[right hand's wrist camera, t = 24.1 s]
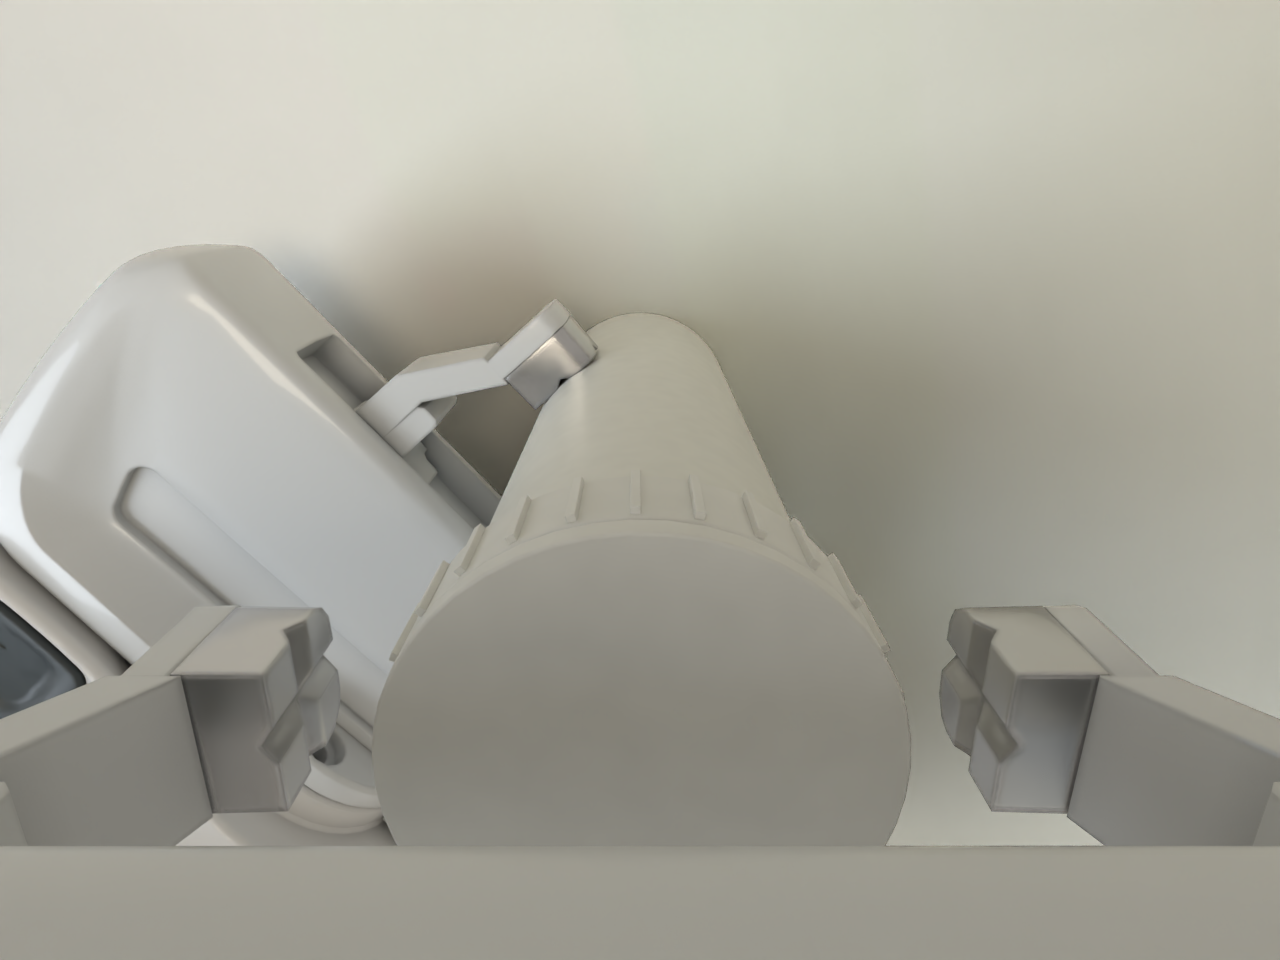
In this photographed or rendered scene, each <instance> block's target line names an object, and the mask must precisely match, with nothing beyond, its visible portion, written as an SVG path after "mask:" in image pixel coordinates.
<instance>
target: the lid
mask: <svg viewBox="0 0 1280 960" xmlns="http://www.w3.org/2000/svg"><path fill="white" fill-rule="evenodd" d="M890 651H891V650H890V648H889V645H888V643H887V642H886V640H885V638H884V636H883V634H882V632H881V631H880V629H879V627H878V625H877V623H876V621H875V620H874V618H873V616H872V614H871V612H870V610H869V609H868V607H867V605H866V603H865V601H864V600H863V598H862V596H861V594H859V595H857V593H856V591H855V589H854V587H853V586H852V584H851V582H850V580H849V578H848V576H847V575H846V573H845V571H844V569H843V567H842V565H841V563H840V562H839V560H838V558H837V557H836V556H835V554H834V553H831V554H830V555H829V556H826V555H825V554H824V552H823V551H822V550H821V549H820V548H819V547H818V546H817V545H816V544H815V543H814V542H813V541H812V540H811V539H810V538H809V537H808V536H807V534H806V532H805V530H804V528H803V526H802V524H801V522H800V521H799V520H797V519H796V518H795V517H793V518H792V520H791V521H790V522H789V521H787V520H786V519H785V518H783V517H781V516H780V515H778V514H776V513H775V512H773V511H771V510H770V509H768V508H766V507H764V506H763V505H761V504H759V503H757V502H756V500H755V497H754V494H753V493H751V492H748V491H746V490H745V491H744V493H743V495H742V496H741V495H738V494H736V493H734V492H731V491H729V490H725V489H722V488H718V487H715V486H711V485H708V484H704V483H700V480H699V476H697V475H692V474H690V475H689V479H688V480H683V479H676V478H669V477H653V476H641V470H631V476H626V477H616V478H606V479H597V480H593V481H588V482H584V481H583V477H582V476H581V477H577V478H573V482H572V485H571V486H566V487H564V488H561V489H558V490H555V491H553V492H550V493H547V494H544V495H542V496H539V497H536V498H534V499H532V500H531V499H530V497H529V496H528V495H526V496H524V497H521V498H520V499H519V502H518V504H517V507H516V508H515V509H513V510H511V511H509V512H507V513H506V514H504V515H503V516H502V517H500V518H499V519H497V520H496V521H494V522H493V523H492V524H490V525H489V526H487V527H486V528H485V527H484V526H483V525H482V524H479V525H478V526H477V527H475V528H474V530H473V532H472V534H471V536H470V538H469V540H468V542H467V544H466V546H465V547H464V548H463V549H461V550H460V552H459V553H458V554H457V555H456V557H455V558H454V559H453V560H452V562H451V563H450V564H449V563H447V562H446V561H444V560H443V561H442V563H441V564H440V565H439V567H438V569H437V571H436V573H435V574H434V576H433V578H432V580H431V582H430V584H429V586H428V588H427V589H426V591H425V593H424V595H423V597H422V599H421V601H420V603H418V604H417V606H416V608H415V609H414V611H413V613H412V615H411V617H410V619H409V621H408V623H407V624H406V626H405V628H404V630H403V632H402V634H401V636H400V637H399V639H398V641H397V643H396V645H395V647H394V649H393V650H392V652H391V655H390V657H389V661H391V662H394V664H393V666H392V668H391V670H390V673H389V675H388V678H387V680H386V683H385V685H384V688H383V690H382V693H381V696H380V698H379V701H378V705H377V712H376V717H375V721H374V726H373V741H372V763H373V772H374V781H375V788H376V792H377V795H378V799H379V803H380V806H381V810H382V814H383V816H384V819H385V821H386V823H387V825H388V828H389V830H390V832H391V834H392V837H393V839H394V841H395V843H396V844H397V846H885V845H886V843H887V842H888V840H889V838H890V836H891V834H892V832H893V830H894V828H895V826H896V824H897V821H898V818H899V815H900V812H901V809H902V806H903V803H904V800H905V797H906V791H907V785H908V780H909V774H910V768H911V735H910V729H909V722H908V715H907V709H906V706H905V703H904V700H905V698H904V692H903V690H902V689H901V687H900V685H899V683H898V681H897V679H896V677H895V675H894V673H893V671H892V669H891V667H890V665H889V663H888V661H887V659H886V657H885V655H884V654H885V653H887V652H890Z"/></svg>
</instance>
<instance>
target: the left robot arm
mask: <svg viewBox="0 0 1280 960" xmlns="http://www.w3.org/2000/svg"><path fill="white" fill-rule="evenodd" d="M597 349H598V346H597V345H596V343H595V342H594V341H593V340H592V339H591V338H590V336H589V335H588V334H587V333H586V332H585V331H584V329H583V328H582V327H581V326H580V325H579V324H578V322H577V321H576V320H575V319H574V318H573V317H572V315H570V313H569V311H568V310H567V309H566V308H565V307H564V306H563V305H562V304H561V303H560V302H559V301H558V300H557V299H556V298H555V299H554V300H553V301H552V302H550V303H549V304H548V305H547V306H545V307H544V308H543V309H542V310H541V311H540V312H539V313H538V314H537V315H536V316H534V317H533V318H532V319H531V320H530V321H529V322H528V323H527V324H526V325H524V326H523V327H522V328H521V329H520V330H519V331H518V332H517V333H516V334H515V335H513V336H512V337H511V338H510V339H509V340H508V341H507V342H506V343H505V344H504V345H502V346H501V345H500V344H499V343H498V342H497V343H492V344H486V345H481V346H476V347H470V348H465V349H459V350H454V351H449V352H443V353H438V354H433V355H427V356H422V357H419V358H418V359H416V360H415V361H414V362H412V363H411V364H410V365H408V366H407V367H406V368H404V369H403V370H402V371H401V372H399V373H398V374H397V375H395V376H394V377H393V378H392V379H391V380H390V381H389V382H388V381H387V380H386V379H385V378H384V377H383V376H382V375H381V374H380V373H379V372H378V371H377V370H376V369H375V368H374V367H373V366H372V365H371V364H370V363H369V362H368V361H367V360H366V359H365V358H364V357H363V356H362V355H361V354H360V353H359V352H358V351H357V350H356V349H355V348H354V347H353V346H352V345H351V344H350V343H349V342H348V341H347V340H346V339H345V338H344V337H343V336H342V335H341V334H340V333H339V332H338V331H337V330H336V329H335V328H334V327H333V326H332V325H331V324H330V323H329V322H328V321H327V320H326V319H325V318H324V317H323V316H322V315H321V314H320V313H319V312H318V311H317V310H316V309H315V308H314V307H313V306H312V305H311V304H310V302H309V301H308V300H307V299H306V298H305V297H304V296H303V295H302V294H301V293H300V292H299V291H298V290H297V289H296V288H295V287H294V286H293V285H292V284H291V283H290V282H289V281H288V280H287V279H286V278H285V277H284V276H283V275H282V274H281V273H280V272H279V271H278V270H277V269H276V268H275V267H274V266H273V265H272V264H271V263H270V262H269V261H268V260H267V259H266V258H265V257H264V256H263V255H261V254H260V253H259V252H257V251H256V250H254V249H252V248H249V247H246V246H236V245H211V244H204V245H185V246H175V247H170V248H164V249H159V250H155V251H152V252H149V253H145V254H142V255H140V256H138V257H136V258H133V259H131V260H129V261H128V262H126V263H125V264H123V265H122V266H120V267H119V268H118V269H116V270H115V271H114V272H113V273H112V274H111V275H110V276H109V277H108V278H107V279H106V280H105V281H104V282H103V283H102V284H101V285H100V286H99V287H98V288H97V289H96V290H95V292H94V293H93V294H92V295H91V296H90V297H89V298H88V300H87V301H86V302H85V303H84V304H83V305H82V307H81V308H80V309H79V310H78V311H77V313H76V314H75V315H74V316H73V318H72V319H71V320H70V321H69V323H68V324H67V325H66V326H65V328H64V329H63V330H62V331H61V333H60V334H59V335H58V337H57V338H56V339H55V341H54V342H53V343H52V345H51V346H50V347H49V349H48V350H47V351H46V353H45V354H44V355H43V357H42V358H41V360H40V361H39V363H38V364H37V365H36V367H35V368H34V370H33V371H32V373H31V374H30V376H29V377H28V378H27V380H26V381H25V383H24V384H23V386H22V387H21V389H20V391H19V392H18V394H17V395H16V397H15V399H14V400H13V402H12V403H11V405H10V407H9V408H8V410H7V411H6V413H5V415H4V417H3V418H2V420H1V422H0V719H2V718H5V717H7V716H10V715H12V714H14V713H17V712H19V711H22V710H24V709H27V708H29V707H32V706H34V705H36V704H39V703H41V702H44V701H46V700H49V699H51V698H54V697H56V696H59V695H61V694H63V693H66V692H68V691H71V690H73V689H76V688H78V687H81V686H83V685H86V684H88V683H90V682H93V681H95V680H98V679H100V678H103V677H105V676H121V675H122V674H123V673H124V672H125V671H126V670H127V669H128V668H129V667H130V666H132V665H133V664H134V663H135V662H136V661H137V660H138V659H139V658H140V657H141V656H142V655H143V654H145V653H146V652H147V651H148V650H149V649H150V648H151V647H152V646H153V645H154V644H155V643H157V642H158V641H159V640H160V639H161V638H162V637H163V636H164V635H165V634H166V633H167V632H168V631H170V630H171V629H172V628H173V627H174V626H175V625H176V624H177V623H178V622H179V621H180V620H181V619H183V618H184V617H185V616H186V615H187V614H188V613H189V612H190V611H191V610H192V609H193V608H195V607H202V606H229V605H239V606H242V607H243V606H264V607H318V608H323V610H324V611H325V612H326V613H327V614H328V616H329V620H330V625H331V630H332V635H333V641H332V642H331V644H330V645H329V647H328V648H327V650H326V651H325V653H324V654H323V655H324V656H325V657H326V658H327V659H328V660H329V661H330V662H331V663H332V664H333V666H334V667H335V668H336V669H337V670H338V674H339V681H340V709H339V713H338V717H337V721H336V726H335V729H334V731H333V733H332V735H331V737H330V739H329V741H328V743H327V744H326V746H324V747H323V748H321V749H320V750H318V751H316V752H315V753H313V754H312V755H310V756H309V758H310V764H311V773H310V775H309V776H308V778H307V780H306V782H305V783H304V785H303V787H302V788H301V790H300V792H299V794H298V795H297V797H296V799H295V801H294V802H293V804H292V806H291V808H290V809H289V811H286V812H250V813H215V814H213V818H211V819H210V820H209V821H207V822H206V823H205V824H203V825H202V826H201V827H199V828H198V829H197V830H195V831H194V832H193V833H191V834H190V835H189V836H187V837H186V838H185V839H183V840H182V841H181V842H179V843H178V844H177V845H175V846H397V844H396V843H395V841H394V839H393V837H392V834H391V832H390V830H389V828H388V825H387V823H386V821H385V819H384V816H383V814H382V810H381V806H380V803H379V799H378V795H377V792H376V788H375V781H374V772H373V763H372V741H373V726H374V721H375V717H376V712H377V705H378V701H379V698H380V696H381V693H382V690H383V688H384V685H385V683H386V680H387V678H388V675H389V673H390V670H391V668H392V666H393V664H394V662H391V661H389V657H390V655H391V652H392V650H393V649H394V647H395V645H396V643H397V641H398V639H399V637H400V636H401V634H402V632H403V630H404V628H405V626H406V624H407V623H408V621H409V619H410V617H411V615H412V613H413V611H414V609H415V608H416V606H417V604H418V603H420V601H421V599H422V597H423V595H424V593H425V591H426V589H427V588H428V586H429V584H430V582H431V580H432V578H433V576H434V574H435V573H436V571H437V569H438V567H439V565H440V564H441V563H442V561H443V560H444V561H446V562H447V563H449V564H450V563H451V562H452V560H453V559H454V558H455V557H456V555H457V554H458V553H459V552H460V550H461V549H463V548H464V547H465V546H466V544H467V542H468V540H469V538H470V536H471V534H472V532H473V530H474V528H475V527H477V526H478V525H479V524H482V525H483V526H484V527H485V528H486V527H487V526H489V525H490V522H491V520H492V518H493V516H494V514H495V511H496V509H497V507H498V505H499V502H500V500H501V498H502V497H501V496H500V495H499V494H498V493H497V492H496V490H495V489H494V488H493V487H492V486H491V485H490V484H489V483H488V482H487V481H486V480H485V479H484V478H483V477H482V476H481V475H480V474H479V473H478V472H477V471H476V470H475V469H474V468H473V467H472V466H471V465H470V464H469V463H468V462H467V461H466V460H465V459H464V458H463V457H462V456H461V455H460V454H459V453H458V452H457V451H456V450H455V449H454V448H453V447H452V446H451V445H450V444H449V443H448V442H447V441H446V440H445V439H444V438H443V437H442V436H441V435H440V434H439V433H438V432H437V431H436V430H435V429H434V428H435V427H436V426H437V425H438V424H439V423H440V422H441V421H442V419H443V418H444V417H445V416H446V415H447V413H448V412H449V411H450V410H451V409H452V408H453V406H454V405H455V404H456V403H457V396H456V395H460V394H465V393H470V392H474V391H479V390H484V389H489V388H494V387H498V386H503V385H508V384H510V385H511V386H512V387H513V388H514V389H515V390H516V391H517V392H518V393H519V394H520V395H521V396H522V397H523V398H524V399H525V400H526V401H527V402H528V403H529V404H530V405H531V406H532V407H533V408H534V409H535V410H536V409H537V408H538V407H539V406H541V405H542V404H543V403H544V402H545V401H546V400H548V399H549V398H550V397H551V396H552V395H553V394H554V393H555V392H556V391H557V389H558V387H559V385H560V383H561V380H562V379H566V378H571V377H572V376H574V375H576V374H577V373H579V372H580V371H581V370H582V369H583V368H584V367H585V366H586V365H587V364H588V363H589V362H590V361H591V360H592V359H593V358H594V357H595V355H596V353H597V352H596V350H597Z"/></svg>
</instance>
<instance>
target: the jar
mask: <svg viewBox="0 0 1280 960" xmlns="http://www.w3.org/2000/svg"><path fill="white" fill-rule="evenodd" d="M586 333H587V334H588V335H589V336H590V338H591V339H592V340H593V341H594V342H595V343H596V345H597V346H598V349H597V350H596V352H597V353H596V355H595V357H594V358H593V359H592V360H591V361H590V362H589V363H588V364H587V365H586V366H585V367H584V368H583V369H582V370H581V371H580V372H579V373H577V374H576V375H574V376H572V377H571V378H566V379H562V380H561V383H560V385H559V387H558V389H557V391H556V392H555V393H554V394H553V395H552V396H551V397H550V398H549V399H548V400H546V401H545V402H544V405H543V407H542V409H541V411H540V413H539V416H538V418H537V420H536V422H535V425H534V427H533V429H532V431H531V433H530V436H529V438H528V440H527V442H526V445H525V447H524V449H523V451H522V453H521V456H520V458H519V460H518V462H517V465H516V467H515V469H514V471H513V474H512V476H511V478H510V480H509V482H508V485H507V487H506V489H505V491H504V494H503V496H502V498H501V500H500V502H499V505H498V507H497V509H496V511H495V514H494V516H493V518H492V520H491V522H490V524H492V523H493V522H494V521H496V520H497V519H499V518H500V517H502V516H503V515H504V514H506V513H507V512H509V511H511V510H513V509H515V508H516V507H517V504H518V502H519V499H520V498H521V497H524V496H526V495H528V496H529V497H530V499H531V500H532V499H534V498H536V497H539V496H542V495H544V494H547V493H550V492H553V491H555V490H558V489H561V488H564V487H566V486H571V485H572V482H573V478H577V477H581V476H582V477H583V481H584V482H588V481H593V480H597V479H606V478H616V477H626V476H631V470H641V476H653V477H669V478H676V479H683V480H688V479H689V475H690V474H692V475H697V476H699V480H700V483H704V484H708V485H711V486H715V487H718V488H722V489H725V490H729V491H731V492H734V493H736V494H738V495H741V496H742V495H743V493H744V491H745V490H746V491H748V492H751V493H753V494H754V497H755V500H756V502H757V503H759V504H761V505H763V506H764V507H766V508H768V509H770V510H771V511H773V512H775V513H776V514H778V515H780V516H781V517H783V518H785V519H786V520H787V521H789V522H790V519H789V517H788V514H787V512H786V510H785V508H784V506H783V503H782V501H781V499H780V497H779V495H778V492H777V490H776V488H775V486H774V484H773V481H772V479H771V477H770V475H769V473H768V471H767V468H766V466H765V464H764V462H763V460H762V457H761V455H760V453H759V451H758V449H757V446H756V444H755V442H754V440H753V438H752V436H751V433H750V431H749V429H748V427H747V425H746V422H745V420H744V418H743V416H742V414H741V411H740V409H739V407H738V405H737V403H736V401H735V398H734V396H733V394H732V392H731V390H730V387H729V385H728V383H727V381H726V379H725V376H724V374H723V372H722V370H721V368H720V365H719V363H718V361H717V359H716V357H715V355H714V354H713V352H712V350H711V349H710V348H709V346H708V345H707V344H706V343H705V341H704V340H703V339H702V338H701V337H700V336H699V335H698V334H696V333H695V332H694V331H693V330H691V329H690V328H689V327H687V326H686V325H684V324H682V323H680V322H678V321H676V320H674V319H671V318H668V317H666V316H662V315H657V314H651V313H629V314H623V315H618V316H615V317H612V318H609V319H607V320H605V321H603V322H600V323H598V324H597V325H595V326H594V327H592V328H591V329H589V330H588V331H587V332H586Z"/></svg>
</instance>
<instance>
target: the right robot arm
mask: <svg viewBox="0 0 1280 960" xmlns="http://www.w3.org/2000/svg"><path fill="white" fill-rule="evenodd" d="M332 641H333V635H332V630H331V625H330V620H329V616H328V614H327V613H326V612H325V611H324V610H323V608H318V607H264V606H243V607H242V606H239V605H229V606H202V607H195V608H193V609H192V610H191V611H190V612H189V613H188V614H187V615H186V616H185V617H184V618H183V619H181V620H180V621H179V622H178V623H177V624H176V625H175V626H174V627H173V628H172V629H171V630H170V631H168V632H167V633H166V634H165V635H164V636H163V637H162V638H161V639H160V640H159V641H158V642H157V643H155V644H154V645H153V646H152V647H151V648H150V649H149V650H148V651H147V652H146V653H145V654H143V655H142V656H141V657H140V658H139V659H138V660H137V661H136V662H135V663H134V664H133V665H132V666H130V667H129V668H128V669H127V670H126V671H125V672H124V673H123V674H122V675H121V676H105V677H103V678H100V679H98V680H95V681H93V682H90V683H88V684H86V685H83V686H81V687H78V688H76V689H73V690H71V691H68V692H66V693H63V694H61V695H59V696H56V697H54V698H51V699H49V700H46V701H44V702H41V703H39V704H36V705H34V706H32V707H29V708H27V709H24V710H22V711H19V712H17V713H14V714H12V715H10V716H7V717H5V718H2V719H0V960H1280V719H1278V718H1275V717H1273V716H1270V715H1268V714H1265V713H1263V712H1260V711H1258V710H1256V709H1253V708H1251V707H1248V706H1246V705H1243V704H1241V703H1238V702H1236V701H1234V700H1231V699H1229V698H1226V697H1224V696H1221V695H1219V694H1216V693H1214V692H1212V691H1209V690H1207V689H1204V688H1202V687H1199V686H1197V685H1194V684H1192V683H1190V682H1187V681H1185V680H1182V679H1180V678H1177V677H1175V676H1159V675H1158V674H1157V673H1156V672H1155V671H1154V670H1153V669H1152V668H1151V667H1150V666H1149V665H1147V664H1146V663H1145V662H1144V661H1143V660H1142V659H1141V658H1140V657H1139V656H1138V655H1137V654H1136V653H1135V652H1133V651H1132V650H1131V649H1130V648H1129V647H1128V646H1127V645H1126V644H1125V643H1124V642H1123V641H1122V640H1120V639H1119V638H1118V637H1117V636H1116V635H1115V634H1114V633H1113V632H1112V631H1111V630H1110V629H1109V628H1107V627H1106V626H1105V625H1104V624H1103V623H1102V622H1101V621H1100V620H1099V619H1098V618H1097V617H1096V616H1094V615H1093V614H1092V613H1091V612H1090V611H1089V610H1088V609H1087V608H1084V607H1081V606H1077V605H1066V606H1021V607H979V608H961V609H955V611H954V613H953V615H952V617H951V620H950V623H949V629H948V635H947V641H948V642H949V644H950V645H951V647H952V648H953V650H954V651H955V653H956V654H957V655H956V656H955V657H954V658H953V659H952V660H951V661H950V662H949V663H948V665H947V666H946V667H945V668H944V669H943V670H942V675H941V684H940V692H939V695H940V706H941V716H942V719H943V722H944V725H945V728H946V731H947V733H948V735H949V737H950V739H951V741H952V743H953V744H954V746H956V747H957V748H959V749H960V750H962V751H964V752H965V753H967V754H968V755H970V756H971V758H970V765H969V773H970V775H971V776H972V778H973V780H974V781H975V783H976V785H977V787H978V788H979V790H980V792H981V794H982V795H983V797H984V799H985V801H986V802H987V804H988V806H989V807H990V809H991V811H992V812H1028V813H1065V814H1067V817H1068V818H1069V819H1070V820H1072V821H1073V822H1074V823H1076V824H1077V825H1078V826H1080V827H1081V828H1082V829H1084V830H1085V831H1086V832H1088V833H1089V834H1090V835H1092V836H1093V837H1094V838H1096V839H1097V840H1098V841H1100V842H1101V843H1102V844H1103V845H1105V846H175V845H177V844H178V843H179V842H181V841H182V840H183V839H185V838H186V837H187V836H189V835H190V834H191V833H193V832H194V831H195V830H197V829H198V828H199V827H201V826H202V825H203V824H205V823H206V822H207V821H209V820H210V819H211V818H213V814H215V813H250V812H286V811H289V809H290V808H291V806H292V804H293V802H294V801H295V799H296V797H297V795H298V794H299V792H300V790H301V788H302V787H303V785H304V783H305V782H306V780H307V778H308V776H309V775H310V773H311V764H310V758H309V756H310V755H312V754H313V753H315V752H316V751H318V750H320V749H321V748H323V747H324V746H326V744H327V743H328V741H329V739H330V737H331V735H332V733H333V731H334V729H335V726H336V721H337V717H338V713H339V709H340V681H339V674H338V670H337V669H336V668H335V667H334V666H333V664H332V663H331V662H330V661H329V660H328V659H327V658H326V657H325V656H324V655H323V654H324V653H325V651H326V650H327V648H328V647H329V645H330V644H331V642H332Z"/></svg>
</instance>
